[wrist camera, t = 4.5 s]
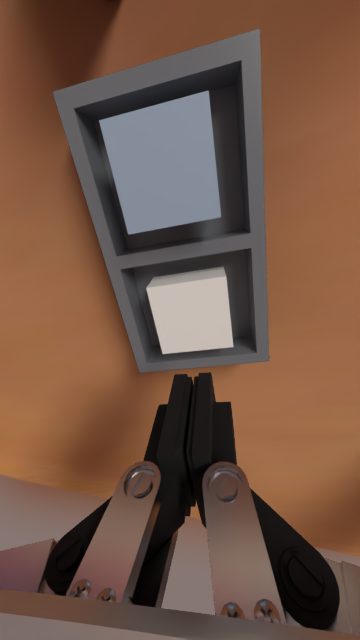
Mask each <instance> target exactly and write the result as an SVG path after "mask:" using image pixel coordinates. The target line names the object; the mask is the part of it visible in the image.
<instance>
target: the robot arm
mask: <svg viewBox="0 0 360 640" xmlns="http://www.w3.org/2000/svg"><path fill="white" fill-rule="evenodd" d="M196 501H197V505H198V509H199V513H200V517H201V520H202V524H203V525H204V526H205V528H206V529H207V538H208V548H209V556H210V557H209V558H210V568H211V577H212V588H213V598H214V607H215V615H209V614H202V613H194V612H186V611H178V610H171V609H163V608H161V606H162V602H163V597H164V593H165V589H166V584H167V580H168V576H169V571H170V567H171V562H172V558H173V554H174V549H175V545H176V541H177V536H178V529H179V528H180V527H181V526H182V524H183V523H184V521H185V516H190V510H191V506H193V507H195V505H196ZM0 640H360V567H359V566H356V565H353V564H350V563H347V562H344V561H342V562H341V564H340V563H337V562H335V561H332V560H329V559H326V558H323V556H322V555H321V554H320V553H319V552H318V551H317V550H316V549H315V548H314V547H313V546H311V545H310V544H309V543H308V542H307V541H306V540H305V539H304V538H303V537H302V536H301V535H300V534H299V533H298V532H296V531H295V530H294V529H293V528H292V527H291V526H290V525H289V524H288V523H287V522H286V521H285V520H284V519H283V518H282V517H280V516H279V515H278V514H277V513H276V512H275V511H274V510H273V509H272V508H271V507H270V506H269V505H268V504H267V503H265V502H264V501H263V500H262V499H261V498H260V497H259V496H258V495H257V494H256V493H255V492H254V491H253V490H252V489H250V487H249V483H248V480H247V477H246V475H245V473H244V472H243V471H242V469H241V468H240V467H238V466H237V461H236V450H235V438H234V427H233V418H232V409H231V402H216V400H215V394H214V387H213V381H212V375H211V372H209V373H199V376H197V377H194V386H193V381H192V377H188V376H187V374H178V375H175V376H174V379H173V384H172V388H171V393H170V397H169V401H168V404H163V405H159V407H158V410H157V413H156V417H155V421H154V424H153V428H152V432H151V435H150V439H149V443H148V446H147V450H146V454H145V457H144V461H141V462H138V463H135V464H134V465H132V466H130V467H129V468H128V469H127V470H126V471H125V473H124V474H123V476H122V477H121V479H120V482H119V484H118V486H117V488H116V490H115V492H114V494H113V496H112V497H111V498H110V499H108V500H107V501H106V502H105V503H104V504H102V505H101V506H100V507H99V508H97V509H96V510H95V511H94V512H93V513H91V514H90V515H89V516H88V517H86V518H85V519H84V520H83V521H81V522H80V523H79V524H78V525H76V526H75V527H74V528H73V529H72V530H70V531H69V532H68V533H67V534H66V535H64V536H63V537H62V538H61V539H60V540H58V541H55V540H54V539H49V540H45V541H41V542H36V543H32V544H28V545H24V546H19V547H15V548H11V549H7V550H3V551H0Z"/></svg>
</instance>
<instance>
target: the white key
mask: <svg viewBox="0 0 360 640" xmlns="http://www.w3.org/2000/svg"><path fill="white" fill-rule="evenodd" d="M146 290H147V294H148V298H149V302H150V306H151V310H152V314H153V318H154V322H155V326H156V330H157V334H158V338H159V342H160V346H161V350H162V354H169V353H179V352H189V351H199V350H209V349H219V348H229V347H233V338H232V328H231V318H230V308H229V298H228V288H227V278H226V274H225V270H224V267H216V268H210V269H204V270H197V271H191V272H184V273H178V274H171V275H165V276H158V277H154V278H153V279H152V280H151V282H150V283H149V285H148V286H147V288H146Z"/></svg>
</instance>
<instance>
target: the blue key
mask: <svg viewBox="0 0 360 640" xmlns="http://www.w3.org/2000/svg"><path fill="white" fill-rule="evenodd" d="M99 123H100V127H101V130H102V134H103V138H104V142H105V146H106V150H107V154H108V158H109V162H110V165H111V169H112V173H113V177H114V181H115V185H116V189H117V193H118V197H119V200H120V204H121V208H122V212H123V216H124V220H125V224H126V228H127V232H128V235H129V234H135V233H140V232H145V231H151V230H156V229H161V228H166V227H172V226H177V225H182V224H188V223H193V222H198V221H204V220H209V219H214V218H220V217H221V210H220V200H219V190H218V180H217V170H216V160H215V150H214V140H213V129H212V119H211V109H210V99H209V90H208V91H204V92H201V93H197V94H193V95H190V96H186V97H183V98H179V99H175V100H172V101H168V102H164V103H161V104H157V105H153V106H150V107H146V108H142V109H139V110H135V111H132V112H128V113H124V114H121V115H117V116H113V117H110V118H106V119H102V120H99Z"/></svg>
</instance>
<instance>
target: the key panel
mask: <svg viewBox="0 0 360 640" xmlns="http://www.w3.org/2000/svg"><path fill="white" fill-rule="evenodd" d="M208 90H209V99H210V109H211V119H212V129H213V140H214V150H215V160H216V170H217V180H218V190H219V200H220V210H221V217H220V218H214V219H209V220H204V221H198V222H193V223H188V224H182V225H177V226H172V227H166V228H161V229H156V230H151V231H145V232H140V233H135V234H129V235H128V232H127V228H126V224H125V220H124V216H123V212H122V208H121V204H120V200H119V197H118V193H117V189H116V185H115V181H114V177H113V173H112V169H111V165H110V162H109V158H108V154H107V150H106V146H105V142H104V138H103V134H102V130H101V127H100V123H99V120H102V119H106V118H110V117H113V116H117V115H121V114H124V113H128V112H132V111H135V110H139V109H142V108H146V107H150V106H153V105H157V104H161V103H164V102H168V101H172V100H175V99H179V98H183V97H186V96H190V95H193V94H197V93H201V92H204V91H208ZM53 95H54V98H55V102H56V105H57V108H58V111H59V115H60V118H61V121H62V124H63V127H64V131H65V134H66V137H67V140H68V144H69V147H70V150H71V153H72V157H73V160H74V163H75V166H76V169H77V173H78V176H79V179H80V182H81V186H82V189H83V192H84V195H85V198H86V202H87V205H88V208H89V211H90V215H91V218H92V221H93V224H94V228H95V231H96V234H97V237H98V240H99V244H100V247H101V250H102V253H103V257H104V260H105V263H106V266H107V269H108V273H109V276H110V279H111V282H112V286H113V289H114V292H115V295H116V298H117V302H118V305H119V308H120V311H121V315H122V318H123V321H124V324H125V328H126V331H127V334H128V337H129V340H130V344H131V347H132V350H133V353H134V357H135V360H136V363H137V366H138V369H139V373H143V372H155V371H166V370H177V369H188V368H199V367H211V366H222V365H233V364H244V363H255V362H267V361H269V339H268V304H267V268H266V232H265V196H264V161H263V125H262V89H261V53H260V29H256V30H253V31H250V32H246V33H243V34H240V35H237V36H233V37H230V38H227V39H224V40H220V41H217V42H214V43H210V44H207V45H204V46H201V47H197V48H194V49H191V50H188V51H184V52H181V53H178V54H174V55H171V56H168V57H165V58H161V59H158V60H155V61H152V62H148V63H145V64H142V65H139V66H135V67H132V68H129V69H125V70H122V71H119V72H116V73H112V74H109V75H106V76H103V77H99V78H96V79H93V80H89V81H86V82H83V83H80V84H76V85H73V86H70V87H67V88H63V89H60V90H57V91H53ZM216 267H224V270H225V274H226V278H227V288H228V298H229V308H230V318H231V328H232V338H233V347H229V348H219V349H209V350H199V351H189V352H179V353H169V354H162V350H161V346H160V342H159V338H158V334H157V330H156V326H155V322H154V318H153V314H152V310H151V306H150V302H149V298H148V294H147V290H146V288H147V286H148V285H149V283H150V282H151V280H152V279H153V278H154V277H158V276H165V275H171V274H178V273H184V272H191V271H197V270H204V269H210V268H216Z"/></svg>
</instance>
